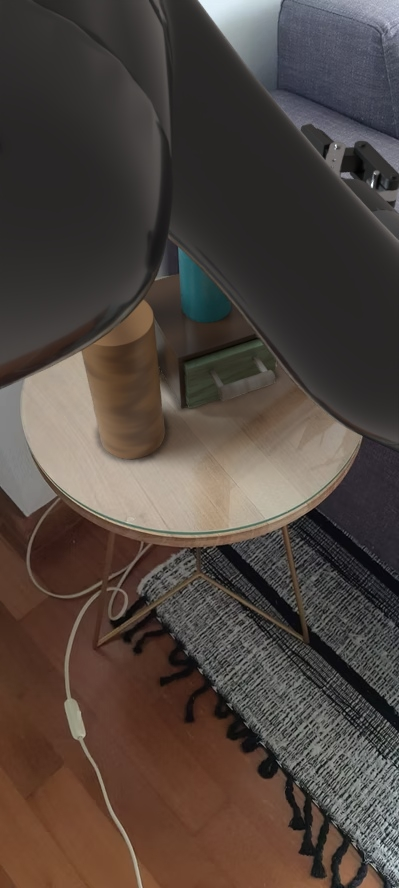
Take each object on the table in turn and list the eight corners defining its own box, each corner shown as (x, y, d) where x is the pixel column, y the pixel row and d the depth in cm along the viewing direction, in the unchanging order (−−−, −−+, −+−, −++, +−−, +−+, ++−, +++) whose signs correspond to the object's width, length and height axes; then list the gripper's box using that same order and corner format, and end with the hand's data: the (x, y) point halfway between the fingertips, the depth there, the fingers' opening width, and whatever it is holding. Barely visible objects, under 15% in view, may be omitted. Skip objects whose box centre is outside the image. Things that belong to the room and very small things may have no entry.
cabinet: (274, 377, 86) (279, 325, 79) (181, 408, 83) (178, 358, 77) (228, 310, 94) (229, 258, 87) (142, 337, 91) (136, 285, 84)
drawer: (291, 404, 82) (296, 364, 77) (203, 434, 80) (202, 395, 74) (232, 317, 92) (232, 276, 86) (152, 341, 89) (148, 301, 84)
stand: (112, 467, 78) (89, 355, 64) (91, 420, 83) (65, 305, 68) (174, 446, 80) (165, 331, 66) (151, 401, 84) (137, 284, 70)
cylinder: (192, 328, 79) (189, 241, 70) (173, 297, 83) (168, 209, 73) (239, 314, 81) (243, 226, 71) (219, 283, 84) (219, 196, 75)
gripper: (466, 187, 45) (340, 81, 54) (271, 243, 42) (172, 120, 51) (437, 279, 51) (327, 169, 60) (264, 334, 48) (176, 209, 57)
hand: (256, 147), depth 55 cm, fingers open, 8 cm apart
